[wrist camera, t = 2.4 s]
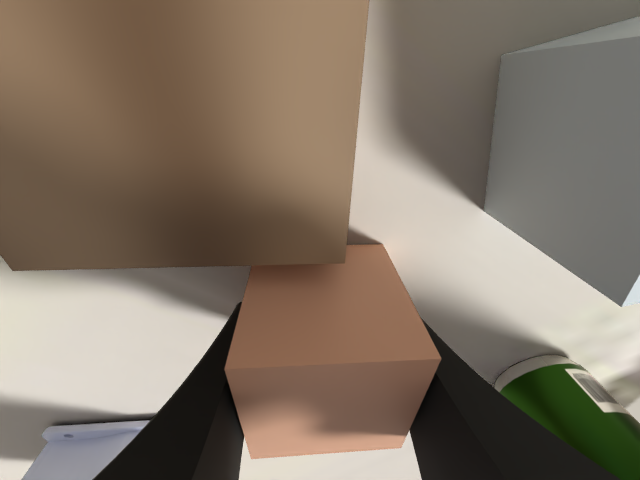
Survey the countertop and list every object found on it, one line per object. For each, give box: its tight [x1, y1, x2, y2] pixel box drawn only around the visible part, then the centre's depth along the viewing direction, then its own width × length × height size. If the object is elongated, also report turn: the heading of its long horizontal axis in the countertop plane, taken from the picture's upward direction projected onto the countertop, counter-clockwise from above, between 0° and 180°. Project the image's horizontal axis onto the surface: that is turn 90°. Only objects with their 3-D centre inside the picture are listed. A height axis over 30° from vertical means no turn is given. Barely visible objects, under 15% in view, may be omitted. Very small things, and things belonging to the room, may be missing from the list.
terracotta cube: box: [224, 244, 441, 459], centre depth 9 cm, size 5×5×5 cm
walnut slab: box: [0, 0, 369, 271], centre depth 6 cm, size 9×9×2 cm
